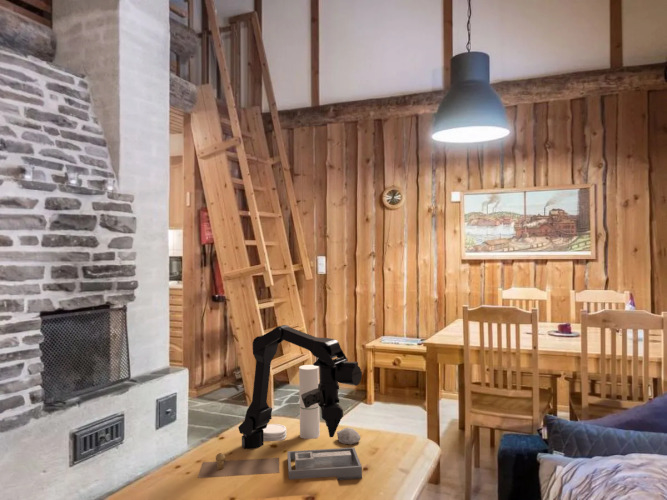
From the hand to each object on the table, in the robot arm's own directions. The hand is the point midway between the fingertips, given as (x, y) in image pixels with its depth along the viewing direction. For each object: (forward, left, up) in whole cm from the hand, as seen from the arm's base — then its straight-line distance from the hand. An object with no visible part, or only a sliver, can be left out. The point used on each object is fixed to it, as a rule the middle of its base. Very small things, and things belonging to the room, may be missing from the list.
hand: (329, 431), depth 158 cm
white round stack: (+4, -34, -12) cm, 37 cm away
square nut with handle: (+2, -1, -11) cm, 11 cm away
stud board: (+24, -14, -12) cm, 30 cm away
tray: (+2, -1, -12) cm, 12 cm away
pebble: (-17, -16, -12) cm, 27 cm away
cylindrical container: (-8, -28, -12) cm, 32 cm away
